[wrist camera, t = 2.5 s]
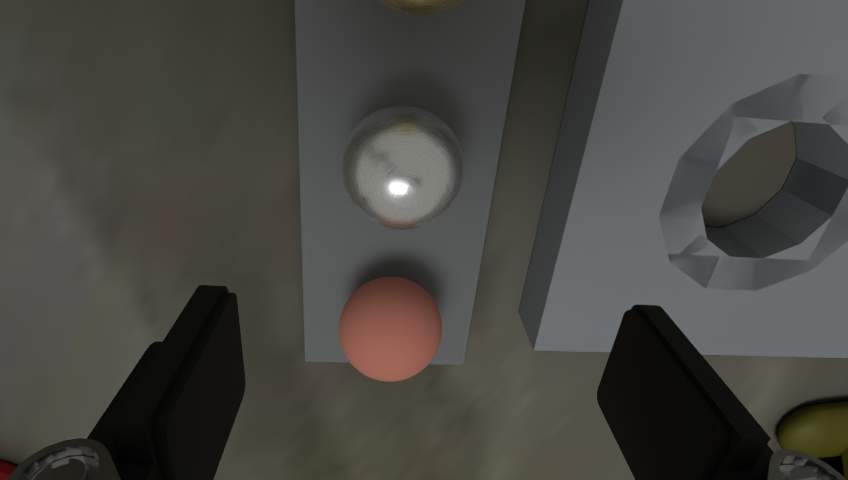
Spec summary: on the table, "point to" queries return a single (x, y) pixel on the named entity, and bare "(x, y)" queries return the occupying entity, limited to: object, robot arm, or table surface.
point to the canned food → (6, 470)
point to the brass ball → (420, 6)
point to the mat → (376, 89)
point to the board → (697, 180)
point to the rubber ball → (390, 328)
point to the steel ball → (402, 167)
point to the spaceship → (817, 431)
